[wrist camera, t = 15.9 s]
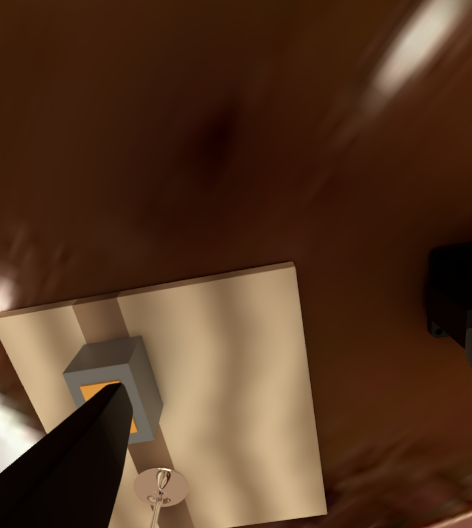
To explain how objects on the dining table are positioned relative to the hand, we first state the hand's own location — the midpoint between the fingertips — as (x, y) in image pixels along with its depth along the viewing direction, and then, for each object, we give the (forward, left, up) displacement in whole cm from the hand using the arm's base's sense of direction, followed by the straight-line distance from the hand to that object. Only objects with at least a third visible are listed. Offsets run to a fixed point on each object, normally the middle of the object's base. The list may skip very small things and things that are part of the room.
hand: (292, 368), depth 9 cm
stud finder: (+11, +8, -12) cm, 18 cm away
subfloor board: (+8, +14, -13) cm, 20 cm away
